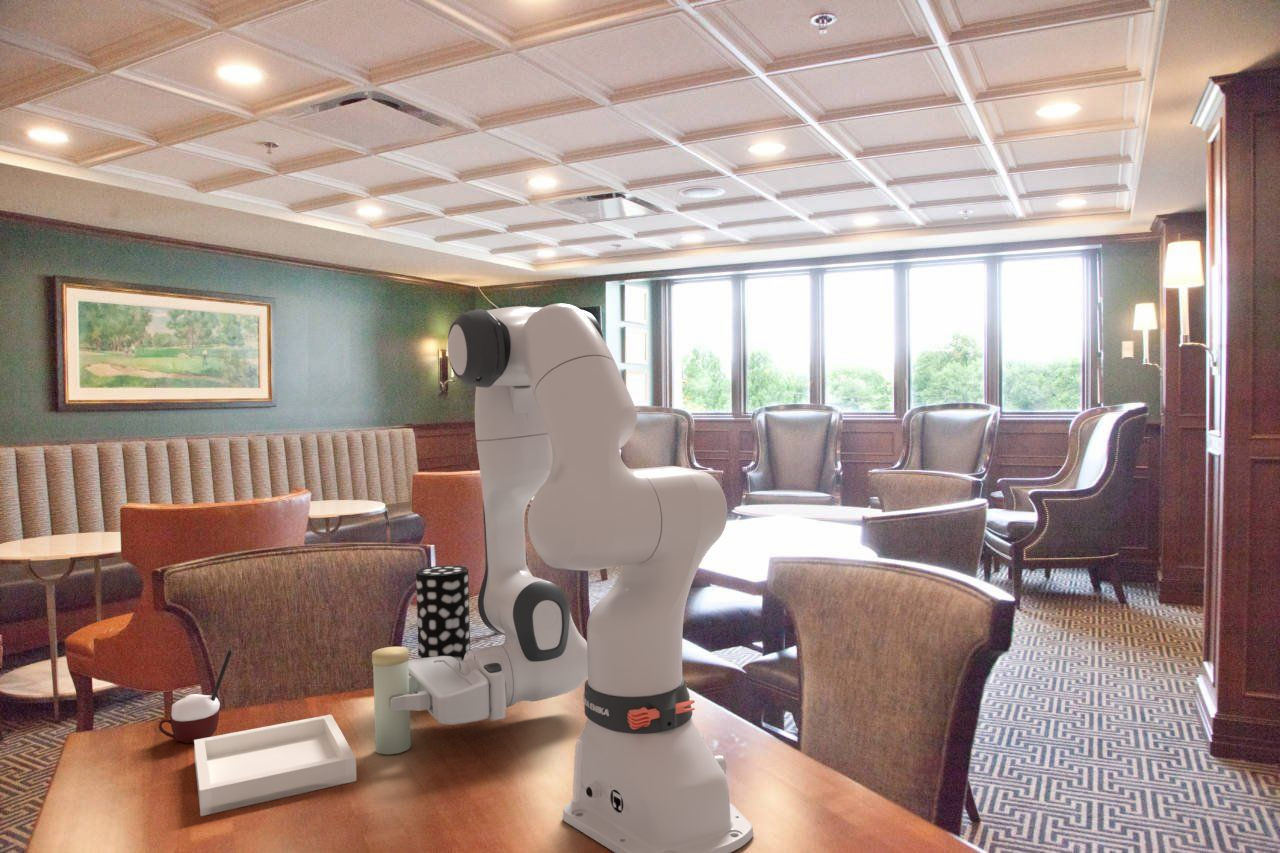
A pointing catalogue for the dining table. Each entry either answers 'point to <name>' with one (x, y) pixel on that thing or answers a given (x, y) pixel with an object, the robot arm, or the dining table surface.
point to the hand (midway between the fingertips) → (385, 697)
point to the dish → (271, 763)
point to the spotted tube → (443, 611)
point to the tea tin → (388, 682)
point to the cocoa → (196, 714)
